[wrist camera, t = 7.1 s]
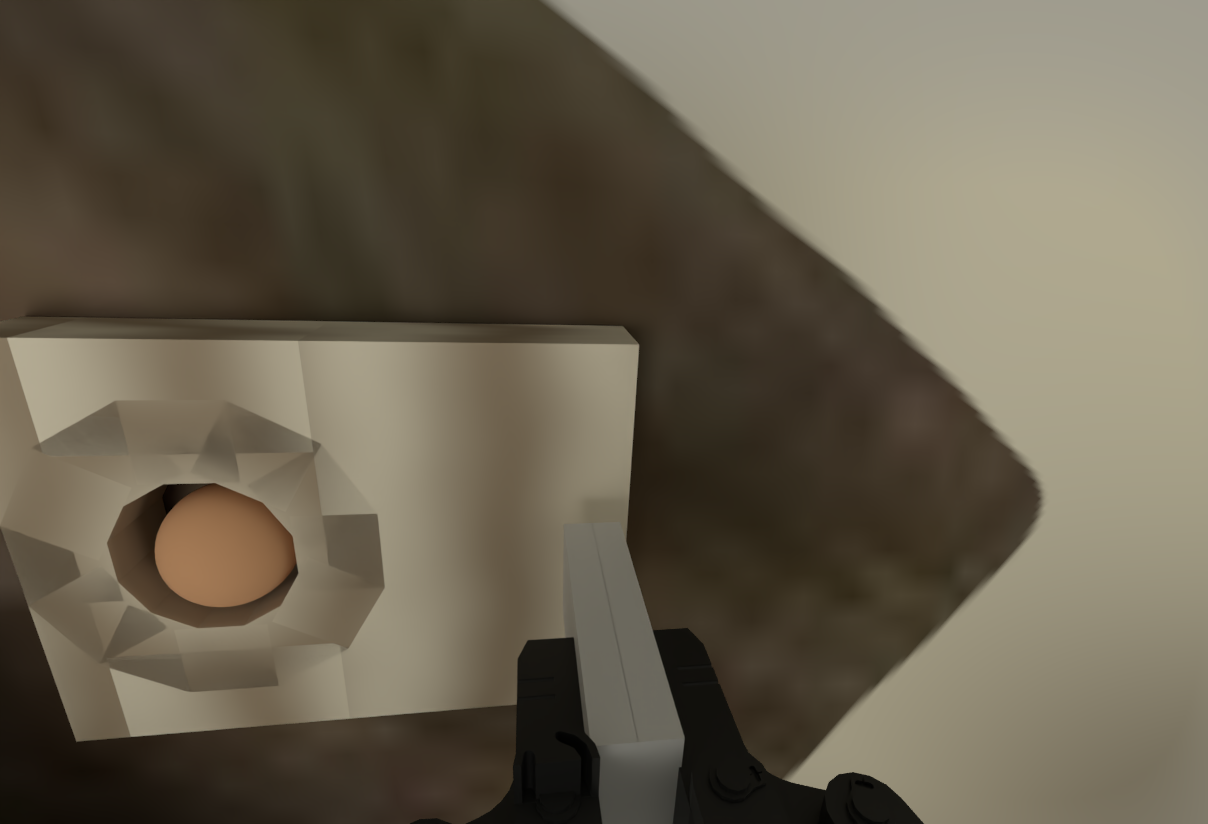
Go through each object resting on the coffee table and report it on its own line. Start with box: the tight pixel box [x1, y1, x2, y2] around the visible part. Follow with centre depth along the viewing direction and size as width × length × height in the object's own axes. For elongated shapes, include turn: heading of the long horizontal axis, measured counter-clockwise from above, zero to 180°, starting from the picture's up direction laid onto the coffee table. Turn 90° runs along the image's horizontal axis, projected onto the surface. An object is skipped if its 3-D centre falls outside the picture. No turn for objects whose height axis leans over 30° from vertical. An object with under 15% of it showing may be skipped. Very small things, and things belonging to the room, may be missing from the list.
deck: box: [0, 316, 639, 742], centre depth 17 cm, size 16×12×2 cm
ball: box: [155, 483, 297, 607], centre depth 16 cm, size 4×4×4 cm
